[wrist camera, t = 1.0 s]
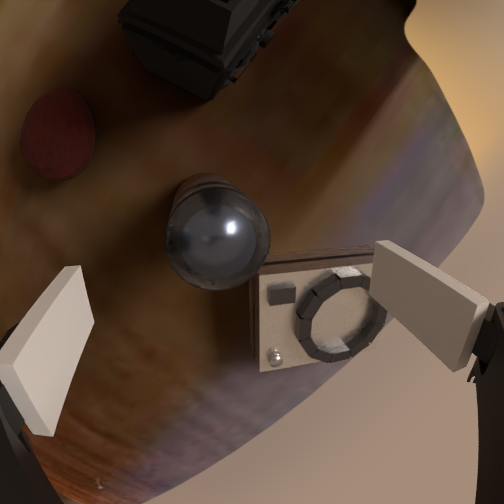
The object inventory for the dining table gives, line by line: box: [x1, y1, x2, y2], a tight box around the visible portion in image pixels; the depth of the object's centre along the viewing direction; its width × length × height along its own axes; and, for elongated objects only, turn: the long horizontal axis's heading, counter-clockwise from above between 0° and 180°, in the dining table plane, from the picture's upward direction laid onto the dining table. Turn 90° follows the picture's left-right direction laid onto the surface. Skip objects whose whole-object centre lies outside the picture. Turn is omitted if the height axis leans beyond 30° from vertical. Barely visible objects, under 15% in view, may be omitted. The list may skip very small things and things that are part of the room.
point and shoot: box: [249, 246, 387, 372], centre depth 32 cm, size 14×11×6 cm
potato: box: [20, 88, 96, 181], centre depth 21 cm, size 7×8×6 cm
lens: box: [165, 173, 270, 291], centre depth 24 cm, size 6×6×12 cm
